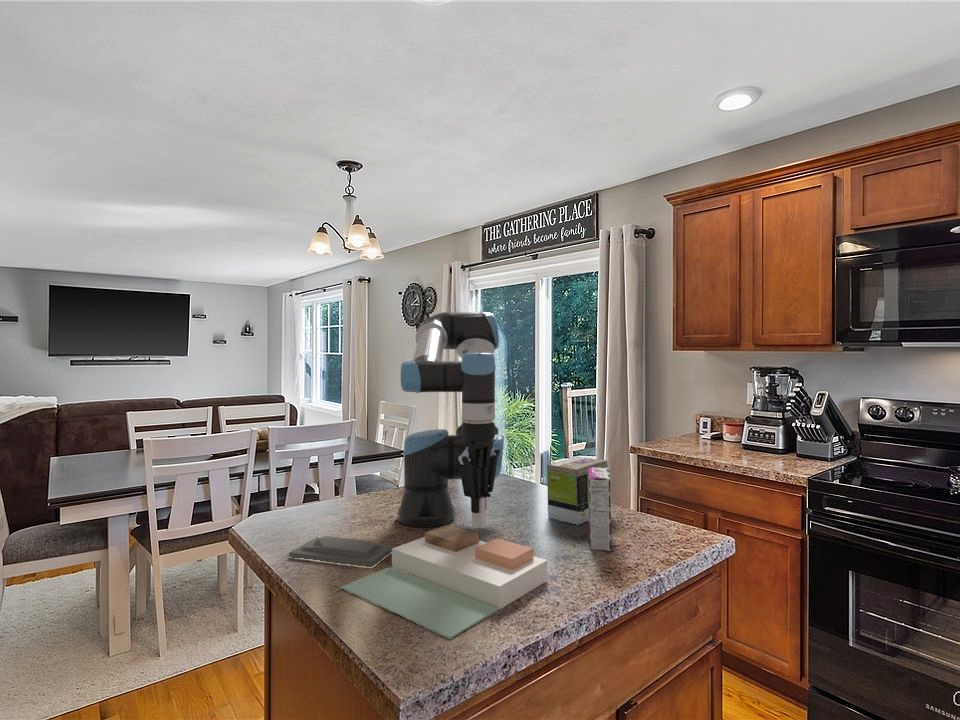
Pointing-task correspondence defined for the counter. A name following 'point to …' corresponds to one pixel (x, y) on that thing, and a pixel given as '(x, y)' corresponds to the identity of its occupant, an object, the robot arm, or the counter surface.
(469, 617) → the mat
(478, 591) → the white flat block
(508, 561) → the terracotta tile
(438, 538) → the walnut tile
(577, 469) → the tea box
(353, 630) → the counter surface
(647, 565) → the counter surface
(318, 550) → the soap mold
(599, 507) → the candy bar box
